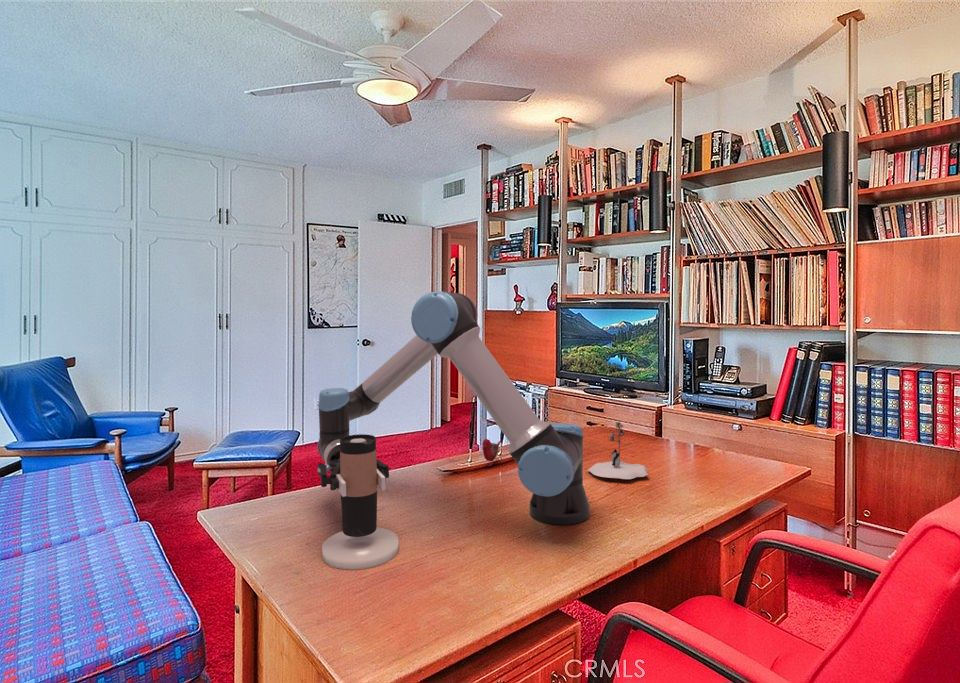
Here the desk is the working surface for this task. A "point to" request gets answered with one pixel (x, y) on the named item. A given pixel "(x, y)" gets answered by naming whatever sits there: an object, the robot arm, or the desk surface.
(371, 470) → the travel mug
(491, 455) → the decorative bird figurine
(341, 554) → the white round disc
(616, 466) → the figurine
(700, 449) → the desk surface
